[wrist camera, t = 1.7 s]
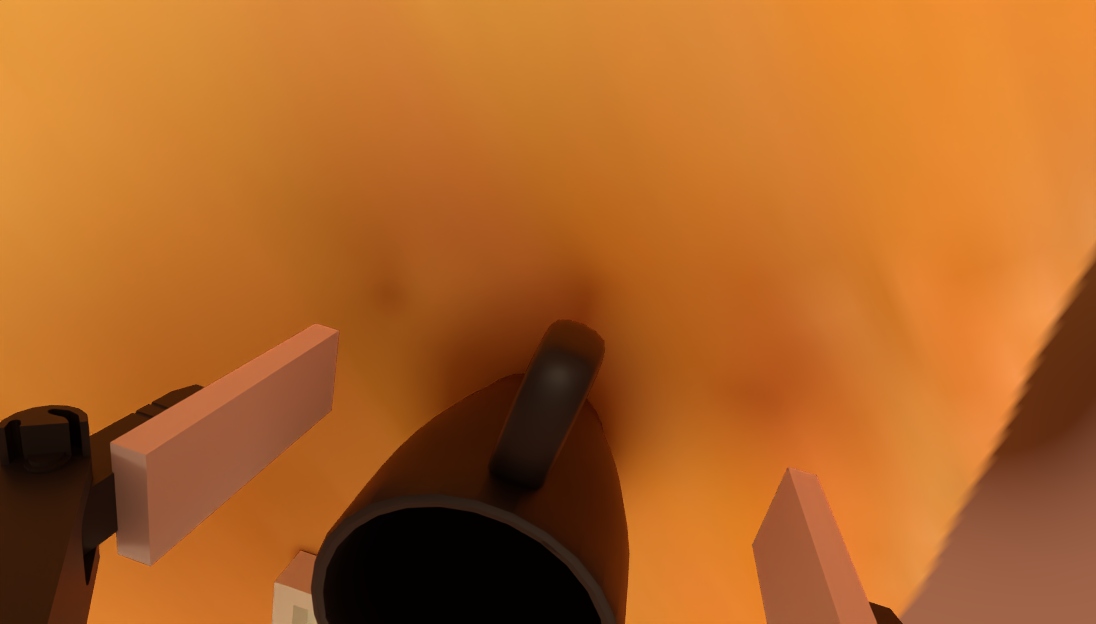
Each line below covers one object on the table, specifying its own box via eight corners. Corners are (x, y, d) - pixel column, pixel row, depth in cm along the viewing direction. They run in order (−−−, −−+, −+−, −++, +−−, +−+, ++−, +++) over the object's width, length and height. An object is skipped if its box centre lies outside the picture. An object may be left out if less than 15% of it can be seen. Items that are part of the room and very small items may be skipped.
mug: (721, 308, 20) (769, 460, 11) (589, 548, 24) (548, 794, 16) (508, 215, 20) (392, 292, 12) (416, 469, 25) (280, 665, 16)
